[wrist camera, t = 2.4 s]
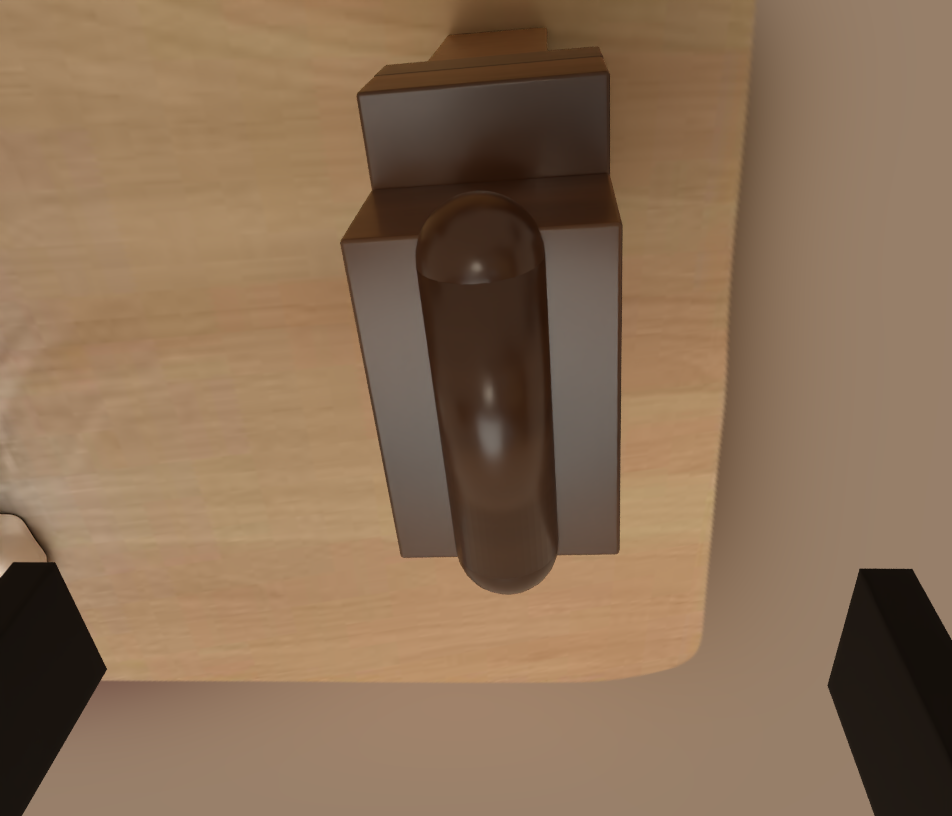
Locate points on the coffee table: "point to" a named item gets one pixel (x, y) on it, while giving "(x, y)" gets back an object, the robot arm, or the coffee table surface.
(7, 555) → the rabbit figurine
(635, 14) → the coffee table surface
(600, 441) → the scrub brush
